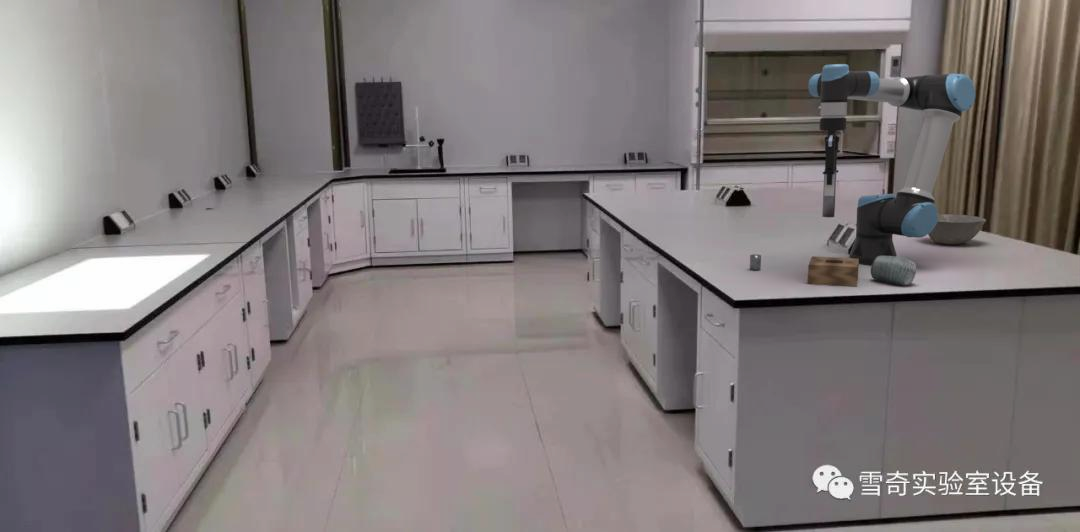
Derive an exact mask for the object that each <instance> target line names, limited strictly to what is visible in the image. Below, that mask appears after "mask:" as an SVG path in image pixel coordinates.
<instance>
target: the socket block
mask: <svg viewBox="0 0 1080 532" xmlns="http://www.w3.org/2000/svg"><path fill="white" fill-rule="evenodd" d="M859 264H860V263H859V259H856V258H849V257H833V256H811V258H810V260H809V263H808V265H807V266H808V269H807V284H808V285H820V284H821V286H822V285H823V286H836V287H837V286H840V287H858V286H857V285H858V282H859V281H858V279H859V278H858V277H859V266H860V265H859Z"/></svg>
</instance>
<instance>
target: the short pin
mask: <svg viewBox="0 0 1080 532" xmlns="http://www.w3.org/2000/svg"><path fill="white" fill-rule="evenodd" d="M749 270H750V271H751V272H759V271H762V254H757V253H753V254H750V255H749Z"/></svg>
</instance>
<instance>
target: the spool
mask: <svg viewBox="0 0 1080 532" xmlns="http://www.w3.org/2000/svg"><path fill="white" fill-rule="evenodd" d="M870 266H871V267H870V276H871V278H872V279H874V280H875V281H877V282H885V283H891V284H895V285H896V284H897V285H900V286H908V285H910V284H911V283H913V281H914V279H915V276H916V274H917V266H916V264H915V263H914V262H913V261H911V260H910V259H907V258H905V257H904V258H903V257H900V256H897V257H896V256H878V257H876V258H875V260H874V261H873V263H872V265H870Z"/></svg>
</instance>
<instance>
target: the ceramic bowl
mask: <svg viewBox="0 0 1080 532" xmlns="http://www.w3.org/2000/svg"><path fill="white" fill-rule="evenodd" d="M986 222H987V219H986V218H983V217H979V216H973V215H968V214H967V215H966V214H951V213H949V214H942V213H940V214H939V213H938V221H937V224H936V226H935V227H934V229H933V230H932V231H931V232H930V233H929V234H927V235H928V237H929V238H930V239H931V240H932V241H933V242H935V243H938V244H944V245H961V244H962V245H963V244H966V243H967V242H970V241H972V239H974V238H975V237H976V236H977V235H978V234H979V233H980V231H981V229H982V228H983V226H984V224H985V223H986Z"/></svg>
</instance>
